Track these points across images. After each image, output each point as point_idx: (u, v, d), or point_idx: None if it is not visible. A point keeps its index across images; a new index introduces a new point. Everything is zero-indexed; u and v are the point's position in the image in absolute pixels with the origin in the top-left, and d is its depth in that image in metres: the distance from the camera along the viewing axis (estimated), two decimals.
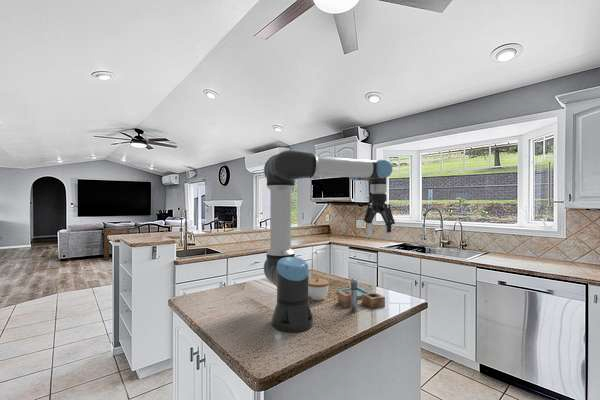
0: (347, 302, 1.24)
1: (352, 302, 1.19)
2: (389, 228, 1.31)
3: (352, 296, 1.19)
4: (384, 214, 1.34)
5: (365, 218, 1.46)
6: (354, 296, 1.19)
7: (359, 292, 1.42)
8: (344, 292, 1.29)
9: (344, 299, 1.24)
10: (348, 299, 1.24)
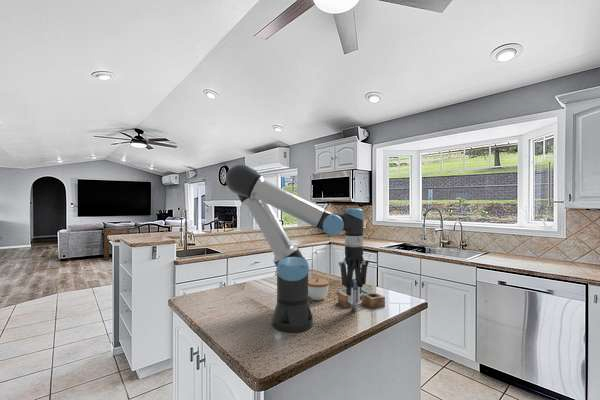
0: (347, 302, 1.24)
1: None
2: (347, 290, 1.19)
3: None
4: (348, 273, 1.19)
5: (360, 278, 1.23)
6: (354, 296, 1.19)
7: None
8: (344, 292, 1.29)
9: (344, 299, 1.25)
10: (347, 299, 1.25)
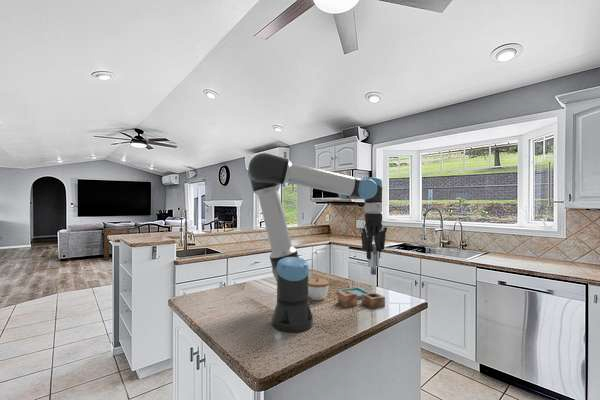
0: (347, 302, 1.24)
1: None
2: (367, 254, 1.26)
3: None
4: (368, 238, 1.27)
5: None
6: (374, 260, 1.26)
7: (359, 292, 1.42)
8: (344, 292, 1.29)
9: (344, 299, 1.25)
10: (347, 299, 1.25)
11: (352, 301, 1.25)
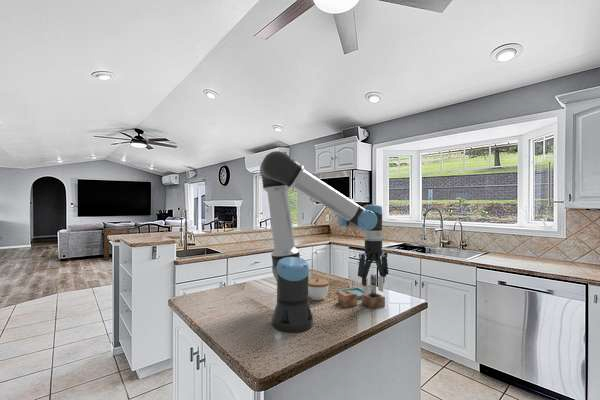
0: (347, 302, 1.24)
1: (372, 296, 1.26)
2: (362, 281, 1.25)
3: (372, 291, 1.26)
4: (365, 264, 1.26)
5: None
6: (374, 291, 1.26)
7: (359, 292, 1.42)
8: (344, 292, 1.29)
9: (344, 299, 1.25)
10: (347, 299, 1.25)
11: (352, 301, 1.25)
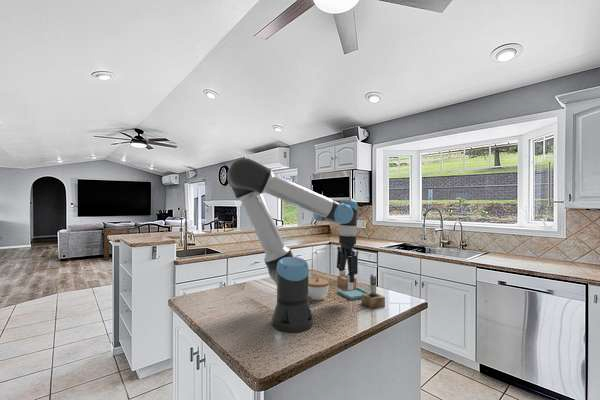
0: (346, 286, 1.24)
1: (372, 296, 1.26)
2: (352, 278, 1.23)
3: (372, 291, 1.26)
4: (350, 261, 1.25)
5: (337, 264, 1.33)
6: (374, 291, 1.26)
7: (359, 292, 1.42)
8: (343, 276, 1.29)
9: (343, 283, 1.24)
10: None
11: None
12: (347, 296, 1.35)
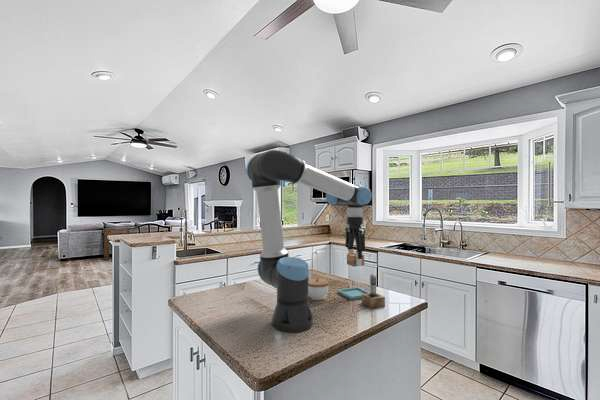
0: (355, 262, 1.37)
1: (372, 296, 1.26)
2: (360, 255, 1.36)
3: (372, 291, 1.26)
4: (358, 239, 1.37)
5: (346, 243, 1.45)
6: (374, 291, 1.26)
7: (359, 292, 1.42)
8: (352, 254, 1.41)
9: (352, 259, 1.37)
10: (355, 259, 1.37)
11: None
12: (347, 296, 1.35)
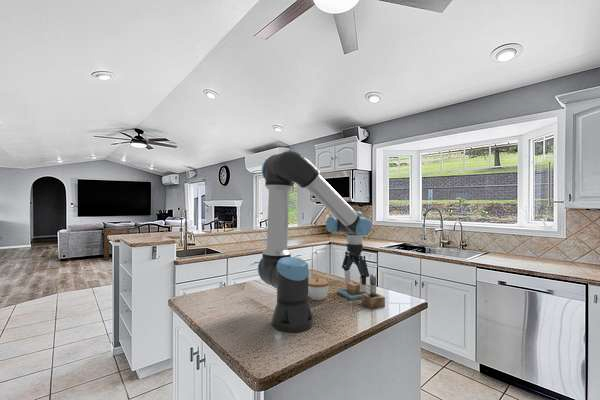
0: (355, 291, 1.37)
1: (372, 296, 1.26)
2: (364, 280, 1.33)
3: (372, 291, 1.26)
4: (360, 265, 1.36)
5: (343, 265, 1.48)
6: (373, 291, 1.26)
7: None
8: (352, 282, 1.41)
9: (352, 288, 1.37)
10: (355, 288, 1.37)
11: (359, 290, 1.38)
12: (347, 296, 1.35)
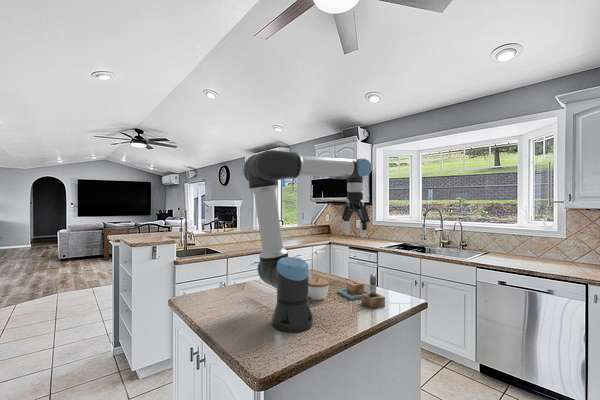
0: (355, 291, 1.37)
1: (372, 296, 1.26)
2: (364, 226, 1.33)
3: (372, 291, 1.26)
4: (360, 212, 1.36)
5: (343, 216, 1.48)
6: (373, 290, 1.26)
7: None
8: (352, 282, 1.41)
9: (352, 288, 1.37)
10: (355, 288, 1.37)
11: (359, 290, 1.38)
12: (347, 296, 1.35)
